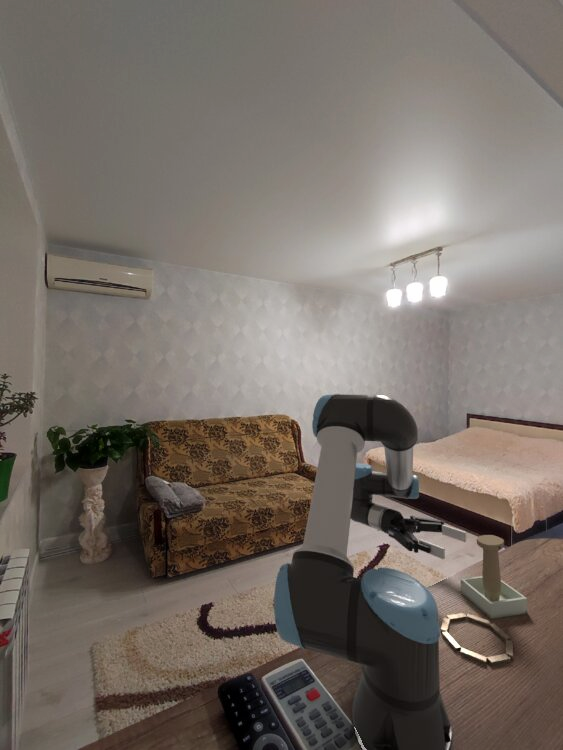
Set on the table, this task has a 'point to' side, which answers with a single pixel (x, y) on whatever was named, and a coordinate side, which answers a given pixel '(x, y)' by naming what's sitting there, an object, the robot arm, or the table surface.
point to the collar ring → (469, 654)
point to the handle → (491, 565)
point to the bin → (506, 606)
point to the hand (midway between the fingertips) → (455, 545)
